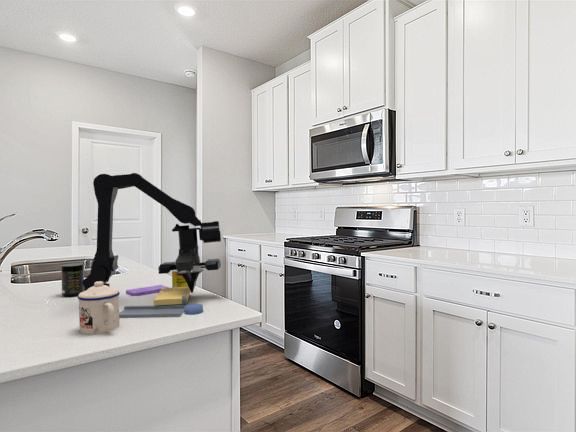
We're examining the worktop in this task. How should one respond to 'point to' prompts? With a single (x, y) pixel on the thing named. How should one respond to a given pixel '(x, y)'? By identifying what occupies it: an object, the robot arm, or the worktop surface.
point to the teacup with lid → (98, 309)
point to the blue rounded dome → (193, 309)
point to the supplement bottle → (178, 280)
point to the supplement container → (72, 279)
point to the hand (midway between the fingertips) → (192, 292)
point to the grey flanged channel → (152, 311)
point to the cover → (172, 296)
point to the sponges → (145, 290)
